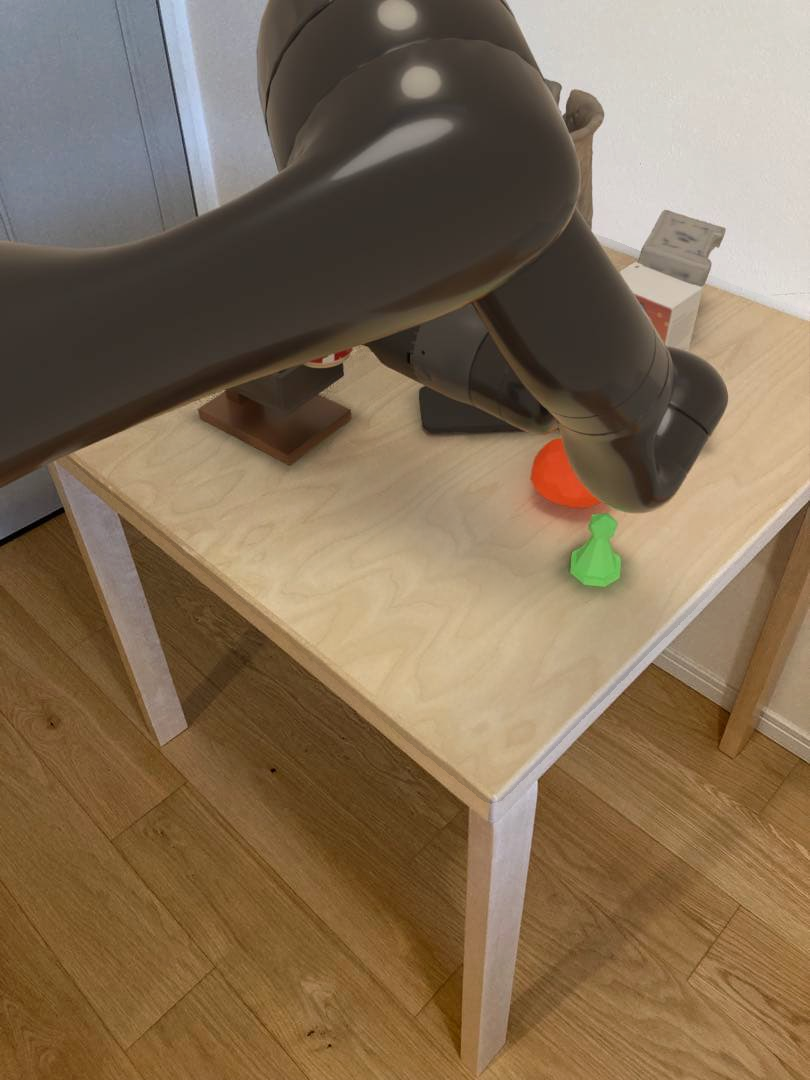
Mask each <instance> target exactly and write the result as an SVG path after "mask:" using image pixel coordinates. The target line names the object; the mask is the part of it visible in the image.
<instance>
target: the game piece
mask: <svg viewBox="0 0 810 1080" xmlns="http://www.w3.org/2000/svg"><path fill="white" fill-rule="evenodd" d="M618 525H619V523H618V521H617V520H616V519H615V518H614V517H613V515H611V513H610V512H603V513H602V512H601V513H592V515H591V517H590V520H589V523H588V525H587V530H588V531H589V532H590V534H591V535H590V537H589V538H588V539H587V541H585V543H584V544H583V545H582V546H580V547H579V548H577V549H575V550H573V551H572V552H571V555H570V557H571V558H570V566H569V567H570V568H569V573H570V574H571V575H572V576H573V577H574V578H575V579H576V580H578V581H579V582H580V583H581V584H582V585H583V586H592V587H599V588H606V587H607V586H609V585H610V584H613V583H614V582H616V581H618V580H619V579H620V577H621V570H622V569H621V567H622V561H621V559H622V557H621V556H620V555H619V554H617V553H616V552H615V551H614V550H613V547H612V544H611V541H610V539H613V538H614V537H615V533H616V531H617V528H618Z"/></svg>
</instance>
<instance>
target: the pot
mask: <svg viewBox="0 0 810 1080" xmlns="http://www.w3.org/2000/svg"><path fill="white" fill-rule="evenodd" d="M544 79H545V82H546V84H547V87H548V89H549V90H550V92H551V93H552V95H553V97H554V100H555V102H556V104H557V106H558V108H559V111H560V113H561V115H562V117H563V119H564V122H565V124H566V127H567V129H568V132H569V134H570V136H571V138H572V141H573V143H574V147H575V150H576V154H577V157H578V161H579V165H580V174H581V184H580V193H579V196H578V200H577V203H576V207H577V209H578V210H579V212H580V214H581V215H582V217H583V218H584V220H585V221H586V223H587V225H588V226H589V228H590V229H591V231H592V229H593V217H594V204H593V154H594V152H593V151H594V150H593V143H594V134H595V133H596V131H597V130H598V129H599V128H600V127H601V126H602V124H603V122H604V120H605V110H604V109H603V106H602V104H601V103H600V102H599V100H598V99H597V97H595V96H594V95H593V94H591V93H589V92H587V91H584V90H581V89H578V88H575V89H571V91H570V92H569V96H568V98H567V99H566V103H565V112H564V113H562V110H561V109H560V99H561V91H562V89H563V87H562V84H561V83H560V82H558V81H555V80H550V79H548V78H545V77H544Z"/></svg>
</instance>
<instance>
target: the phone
mask: <svg viewBox="0 0 810 1080" xmlns="http://www.w3.org/2000/svg"><path fill="white" fill-rule="evenodd" d="M418 398H419V408H420V409H419V410H420V417H421V418H420V419H421V426H422V429H423V430H424V431H425V432H427V433H430V434H449V433H451V434H452V433H453V434H454V433H472V432H473V433H474V432H492V431H494V432H495V431H515V430H516V431H517V430H520V429H519V428H517V427H515V426H513V425H511V424H509V423H508V422H506V421H504V420H502V419H500V418H498V417H496V416H493V415H491V414H489V413H487V412H485V411H483V410H481V409H480V408H477V407H475V406H472V405H469V404H466V403H463V402H459V401H456V400H454V399H451V398H449V397H447V396H445V395H443V394H441V393H439V392H437V391H435V390H433V389H431V388H429V387H427V386H425V385H423V386H421V387H420V388H419V390H418Z"/></svg>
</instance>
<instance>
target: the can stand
mask: <svg viewBox="0 0 810 1080" xmlns="http://www.w3.org/2000/svg"><path fill="white" fill-rule="evenodd" d="M344 370H345V369H344V362H343V363H341V364H339V365H336V366H333V367H328V368H313V367H308V366H306V365H303V364H301V365H298V366H295V367H292V368H289V369H286V370H283V371H279V372H276V373H273V374H270V375H267V376H264V377H261V378H258V379H255V380H252V381H249V382H246V383H243V384H240V385H237V386H235V387H232V388H229V389H226V390H224V391H222V392H221V393H220V394H219V395H216V396H215V397H214V398H212V399H211V400H209V401H208V402H206V403H204V404H203V405H201V406H200V407H198V408H197V411H198V415H199V419H200V420H202V421H205V422H206V423H208V424H210V425H211V426H214V427H215V428H217V429H219V430H221V431H223V432H225V433H226V434H229V435H231V436H233V437H234V438H237V439H239V440H241V441H243V442H244V443H246V444H248V445H250V446H251V447H254V448H256V449H258V450H260V451H261V452H263V453H265V454H267V455H269V456H271V457H273V458H275V459H276V460H278V461H280V462H282V463H284V464H286V465H287V466H291V465H292V464H294V463H295V462H297V461H298V460H299V459H301V458H302V457H303V456H304V455H305V454H307V453H309V452H310V451H312V449H314V448H315V447H316V446H318V445H319V444H320V443H321V442H323V441H325V440H326V439H327V438H328V437H330V436H331V435H332V434H334V433H335V432H336V431H338V430H339V429H340V428H342V427H343V426H344V425H346V424H347V423H348V422H350V421H351V420H352V419H353V418H352V409H351V408H349V407H347V406H344V405H342V404H340V403H338V402H336V401H334V400H332V399H329V398H328V397H325V396H323V395H321V393H322V392H324V391H325V390H327V389H328V388H329V387H331V386H332V385H334V384H335V383H336V382H338V381H339V380H340V379H342V378H344V377H345V371H344Z"/></svg>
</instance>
